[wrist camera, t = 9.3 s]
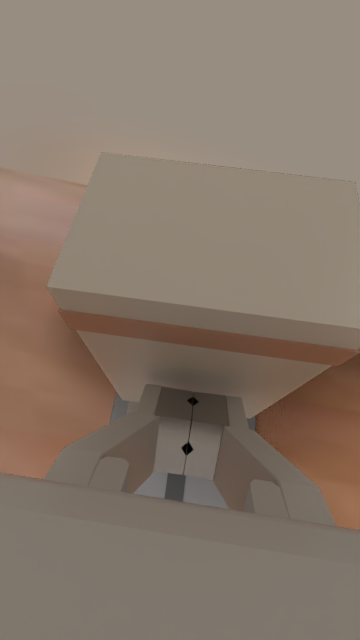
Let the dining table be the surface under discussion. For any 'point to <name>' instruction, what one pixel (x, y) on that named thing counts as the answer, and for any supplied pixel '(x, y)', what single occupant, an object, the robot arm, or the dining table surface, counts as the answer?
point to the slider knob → (211, 277)
